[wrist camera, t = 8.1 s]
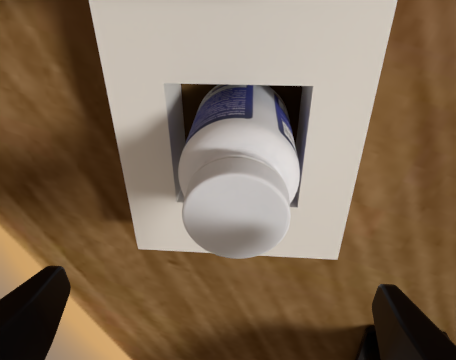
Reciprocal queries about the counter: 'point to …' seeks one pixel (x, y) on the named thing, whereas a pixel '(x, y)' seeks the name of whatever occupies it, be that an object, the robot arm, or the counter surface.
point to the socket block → (242, 75)
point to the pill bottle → (239, 171)
